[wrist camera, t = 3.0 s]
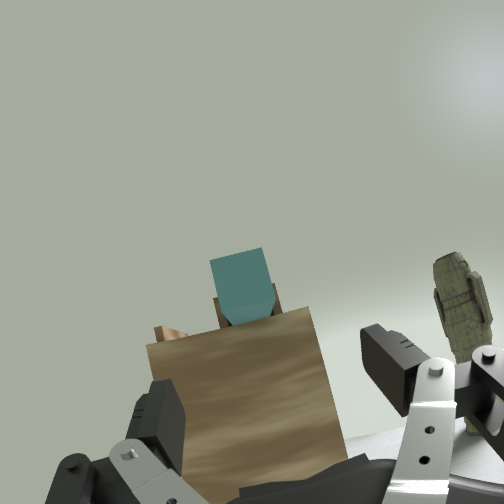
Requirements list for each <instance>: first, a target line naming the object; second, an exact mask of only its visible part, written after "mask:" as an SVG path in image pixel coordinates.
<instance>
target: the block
mask: <svg viewBox="0 0 504 504" xmlns="http://www.w3.org/2000/svg"><path fill="white" fill-rule="evenodd" d="M210 264H211V269H212V273H213V277H214V282H215V286H216V291H217V294H218V299H219V303H220V308H221V312H222V313H223V315H224V316H225V317H226V318H227V319H228V320H229V321H230V323H231V324H232V325H233V326H235V325H239V324H243V323H247V322H251V321H255V320H259V319H263V318H266V317H270V314H271V312H272V309H273V306H274V303H275V300H276V297H275V294H274V290H273V287H272V283H271V279H270V276H269V272H268V268H267V265H266V261H265V258H264V254H263V250H262V248H258V249H253V250H250V251H245V252H242V253H237V254H233V255H229V256H225V257H221V258H217V259H213V260H210Z"/></svg>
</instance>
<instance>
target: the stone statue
mask: <svg viewBox="0 0 504 504" xmlns="http://www.w3.org/2000/svg"><path fill="white" fill-rule="evenodd" d="M433 273H434V281H435V284H436V287H437V288H435V289H434V299H435V302H436V305H437V309H438V312H439V316H440V319H441V323H442V326H443V329H444V332H445V335H446V337H448V339H449V343H450V347H451V351H452V352H453V354H454V355H455V358H456V363H457V364H461V363H465V362H468V361H471V360H472V354H473V352H474V350H476V349H477V348H478V347H481V346H485V345H492V342H491V340H492V332H491V327H490V325H491V323H492V320H493V318H492V314H491V311H490V307H489V303H488V299H487V296H486V292H485V288H484V285H483V281H482V278H481V276H480V275H479V274H478V273H477V272H476V271H474V272H471V270H470V267H469V264H468V263H467V261H466V260H465V258H464V257H463V256H462V254H461V253H460V252H459V253H457V252H453V253H450V254H447V255H445V256H443V257H441V258H439V259H437V260H436V262H435V263H434V264H433ZM476 291H477V292H476ZM496 398H497V399H498V400H499V401H501V402H502V403H503V404H504V402H503V400H502V399H501V398H500V397H498V396H497V395H496ZM464 421H465V423H466V431H467V433H468V434H469V435H481V434H480V433H479V432H478V431H477V429H476V428H475V427H474V426H473V425H472V424H471V423H470V421H469V420H468V419H467V418H466V417H465V416H464Z"/></svg>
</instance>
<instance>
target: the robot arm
mask: <svg viewBox="0 0 504 504" xmlns="http://www.w3.org/2000/svg"><path fill="white" fill-rule="evenodd" d="M360 339H361V351H362V362H363V365H364V368H365V371H366V372H367V374H368V375H369V376H370V378H371V379H372V380H373V381H374V382H375V384H376V385H377V386H378V388H379V389H380V390H381V391H382V392H383V394H384V395H385V396H386V398H387V399H388V400H389V401H390V403H391V404H392V405H393V406H394V408H395V409H396V410H397V412H398V413H399V414H400V415H401V417H405V416H407V415H408V418H407V423H406V427H405V432H404V436H403V440H402V444H401V447H400V451H399V455H398V458H397V460H395V459H376V460H369V459H368V458H367V456H366V454H365V453H363V454H361V455H358V456H355V457H353V458H350V459H347V460H344V461H342V462H339V463H336V464H334V465H332V466H330V467H328V468H326V469H325V470H323V471H321V472H319V473H317V474H315V475H313V476H311V477H309V478H307V479H304V480H295V481H279V482H267V483H263V484H258V485H253V486H248V487H242V488H239V495H240V497H238V498H235V499H233V500H231V501H229V502H227V503H226V504H504V484H497V483H491V482H486V481H481V480H475V479H471V478H466V477H461V476H457V475H453V474H449V473H450V466H451V459H452V450H453V441H454V429H455V419H457V418H460V417H464V416H465V417H466V418H467V419H468V420H469V421H470V423H471V424H472V425H473V426H474V427H475V428H476V429H477V431H478V432H479V433H480V434H481V435H482V436H483V438H484V439H485V440H486V441H487V442H488V443H489V444H490V446H491V447H492V448H493V449H494V450H495V452H496V453H497V454H498V455H499V456H500V457H501V459H502V460H503V461H504V404H503V403H502V402H501V401H499V400H498V399H497V398H496V395H497V396H498V397H500V398H501V399H502V400H503V402H504V350H502V349H501V348H499V347H497V346H494V345H485V346H481V347H478V348H477V349H476V350H474V352H473V354H472V360H471V361H468V362H465V363H461V364H457V365H453V363H452V362H451V361H449V360H448V359H445V358H430V357H429V356H428V355H427V354H425V353H424V352H423V351H422V350H421V349H420V348H418V347H417V346H416V345H414V344H413V343H412V342H411V341H410V340H408V339H407V338H406V337H405V336H404V335H402V334H401V333H398V332H395V331H392V330H391V331H388V332H387V331H386V330H385V329H384V328H383V327H381V326H380V325H379V324H374V325H371V326H369V327H366V328H363V329H361V331H360ZM185 423H186V416H185V411H184V408H183V405H182V403H181V401H180V398H179V396H178V394H177V392H176V389H175V387H174V385H173V382H172V381H171V379H170V378H168V379H162V380H156V381H152V383H151V386H150V390H149V393H148V394H143V395H142V396H141V397H140V399H139V400H138V401H137V402H136V405H135V408H134V412H133V415H132V419H131V421H130V425H129V428H128V431H127V435H126V439H125V440H123V441H121V442H119V443H117V444H116V445H115V446H114V447H113V448H112V449H111V451H110V454H109V457H107V458H103V459H100V460H96V461H92V462H91V461H90V460H89V458H88V457H87V456H86V455H84V454H80V453H76V454H72V455H69V456H67V457H65V458H64V459H63V460H62V461H61V462H60V464H59V466H58V468H57V471H56V474H55V476H54V479H53V482H52V485H51V488H50V490H49V493H48V496H47V499H46V502H45V504H210V503H209V502H208V501H206V500H205V499H204V498H203V497H202V496H201V495H199V494H198V493H197V492H196V491H195V490H194V489H193V488H192V487H190V486H189V485H188V484H187V483H186V482H185V481H184V480H183V479H182V478H181V476H182V461H183V448H184V435H185Z"/></svg>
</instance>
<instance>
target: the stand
mask: <svg viewBox="0 0 504 504" xmlns="http://www.w3.org/2000/svg"><path fill="white" fill-rule="evenodd" d="M272 287H273V290H274V294H275V297H276V300H275V303H274V306H273V309H272V312H271V314H270V317H266V318H263V319H259V320H255V321H251V322H247V323H243V324H239V325H235V326H233V325H232V324H231V323H230V321H229V320H228V319H227V318H226V317H225V316H224V315H223V313H222V312H221V308H220V303H219V299H218V297H217V298H213V300H214V304H215V308H216V313H217V317H218V321H219V326H220V329H218V330H214V331H209V332H205V333H200V334H196V335H192V336H188V334H186V333H183V332H179V331H176V330H173V329H170V328H166V327H163V326H159V327H155V328H154V330H155V334H156V340H157V343H153V344H148V345H146V348H147V353H148V357H149V362H150V366H151V371H152V375H153V379H154V381H156V380H162V379H168V378H170V379H171V381H172V382H173V385H174V387H175V389H176V392H177V394H178V396H179V398H180V401H181V403H182V405H183V408H184V411H185V416H186V423H185V435H184V448H183V461H182V479H183V480H184V481H185V482H186V483H187V484H188V485H189V486H190V487H192V488H193V489H194V490H195V491H196V492H197V493H198V494H199V495H201V496H202V497H203V498H204V499H205V500H206V501H208V502H209V503H210V504H226V503H227V502H229V501H231V500H233V499H235V498H238V497H240V495H239V488H242V487H248V486H253V485H258V484H263V483H267V482H279V481H295V480H304V479H307V478H309V477H311V476H313V475H315V474H317V473H319V472H321V471H323V470H325V469H326V468H328V467H330V466H332V465H334V464H336V463H339V462H342V461H344V460H347V459H348V456H347V452H346V447H345V443H344V439H343V435H342V431H341V427H340V423H339V419H338V415H337V411H336V407H335V403H334V399H333V395H332V392H331V388H330V384H329V380H328V376H327V373H326V369H325V365H324V361H323V358H322V354H321V350H320V347H319V343H318V340H317V336H316V332H315V329H314V325H313V321H312V318H311V314H310V311H309V307H308V306H307V307H304V308H300V309H296V310H293V311H289V312H285V313H283V312H282V309H281V306H280V301H279V298H278V294H277V291H276V287H275V283H273V284H272Z"/></svg>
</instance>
